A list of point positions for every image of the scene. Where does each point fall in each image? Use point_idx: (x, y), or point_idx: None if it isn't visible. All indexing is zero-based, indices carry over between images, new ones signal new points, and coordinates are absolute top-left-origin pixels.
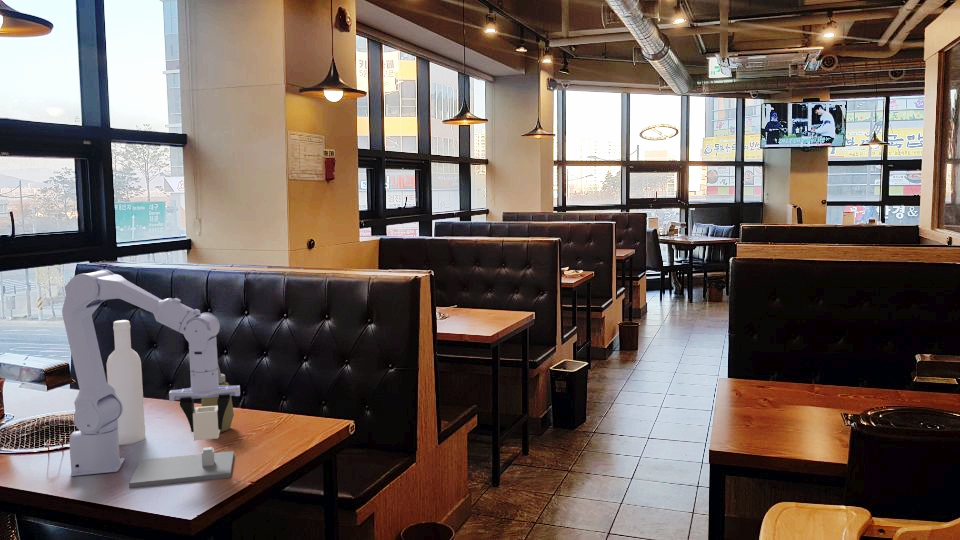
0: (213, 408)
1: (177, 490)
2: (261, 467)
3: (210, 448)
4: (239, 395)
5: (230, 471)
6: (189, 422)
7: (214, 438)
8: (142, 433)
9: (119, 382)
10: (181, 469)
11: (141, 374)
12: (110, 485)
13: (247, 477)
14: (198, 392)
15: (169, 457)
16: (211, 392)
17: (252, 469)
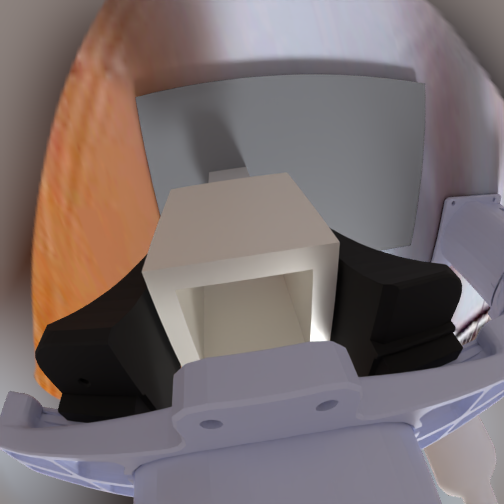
0: None
1: (289, 17)
2: (72, 176)
3: None
4: (9, 393)
5: (138, 111)
6: (338, 233)
7: (188, 186)
8: None
9: (474, 428)
10: (308, 149)
11: (433, 461)
12: (451, 117)
13: (89, 97)
14: (356, 425)
15: None
16: (158, 440)
17: (91, 161)
